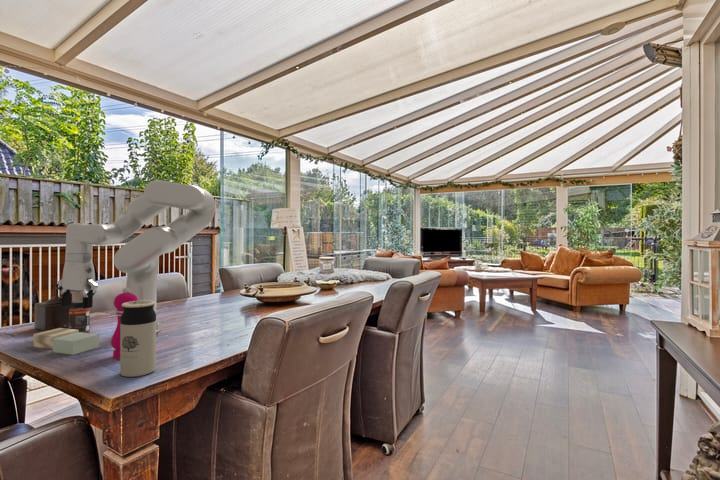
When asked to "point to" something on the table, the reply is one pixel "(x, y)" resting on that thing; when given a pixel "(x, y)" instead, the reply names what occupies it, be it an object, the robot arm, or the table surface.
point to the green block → (75, 343)
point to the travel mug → (137, 338)
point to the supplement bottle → (79, 317)
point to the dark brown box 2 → (52, 313)
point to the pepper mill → (118, 304)
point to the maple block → (51, 337)
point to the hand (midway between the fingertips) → (76, 306)
